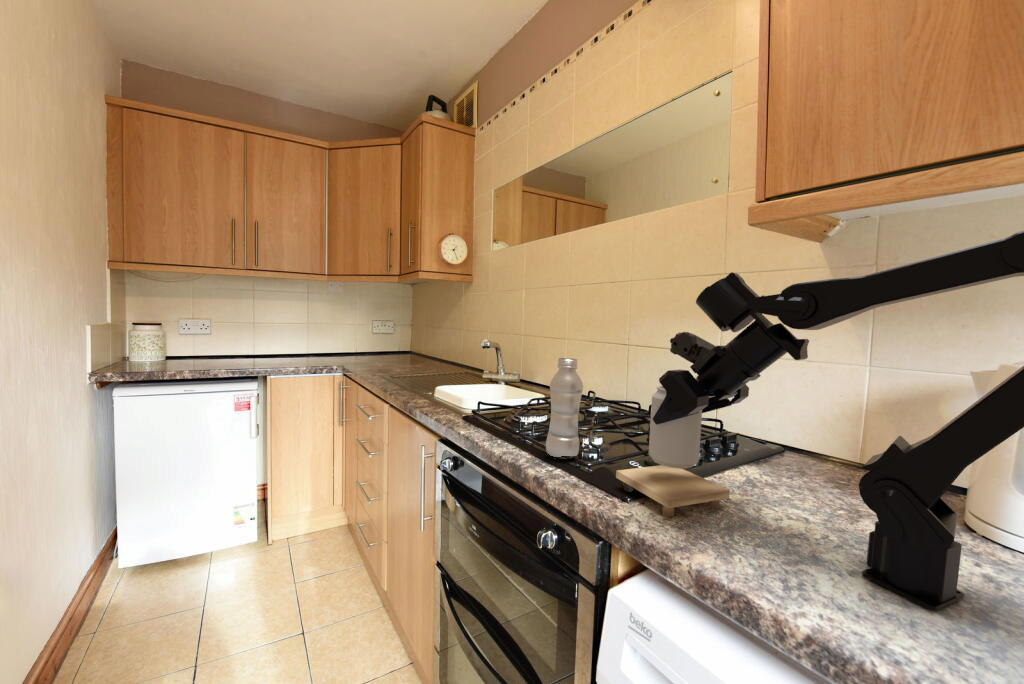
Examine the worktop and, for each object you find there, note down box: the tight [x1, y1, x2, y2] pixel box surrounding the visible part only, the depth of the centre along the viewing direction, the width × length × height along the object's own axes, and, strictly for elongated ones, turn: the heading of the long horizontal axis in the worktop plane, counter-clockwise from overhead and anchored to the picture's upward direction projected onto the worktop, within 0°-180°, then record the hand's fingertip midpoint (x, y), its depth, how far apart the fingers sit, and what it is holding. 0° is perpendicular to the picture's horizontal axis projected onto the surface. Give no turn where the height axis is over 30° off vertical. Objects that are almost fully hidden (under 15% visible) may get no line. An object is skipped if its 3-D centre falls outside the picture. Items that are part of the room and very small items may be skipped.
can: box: [648, 385, 703, 469], centre depth 68 cm, size 8×8×12 cm
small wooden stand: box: [615, 464, 731, 518], centre depth 68 cm, size 12×12×3 cm
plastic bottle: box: [545, 357, 584, 457], centre depth 85 cm, size 6×7×20 cm
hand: (667, 418), depth 69 cm, fingers closed on can, 7 cm apart
